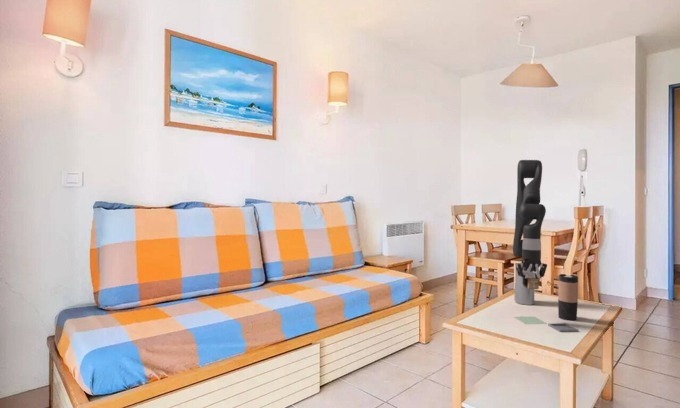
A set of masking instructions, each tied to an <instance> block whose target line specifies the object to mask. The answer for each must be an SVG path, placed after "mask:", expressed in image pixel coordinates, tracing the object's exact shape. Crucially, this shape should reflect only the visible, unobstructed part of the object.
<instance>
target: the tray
mask: <svg viewBox="0 0 680 408" xmlns="http://www.w3.org/2000/svg"><path fill="white" fill-rule="evenodd" d="M547 324H548V325H547V326H548V327H551V328H552V329H553V330H556V331H557V332H559V333H579V329H578V328H576V327H574V326H572V325H570V324H568V323H565V322H563V323H559V322H558V323H556V322H555V323H547Z"/></svg>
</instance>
